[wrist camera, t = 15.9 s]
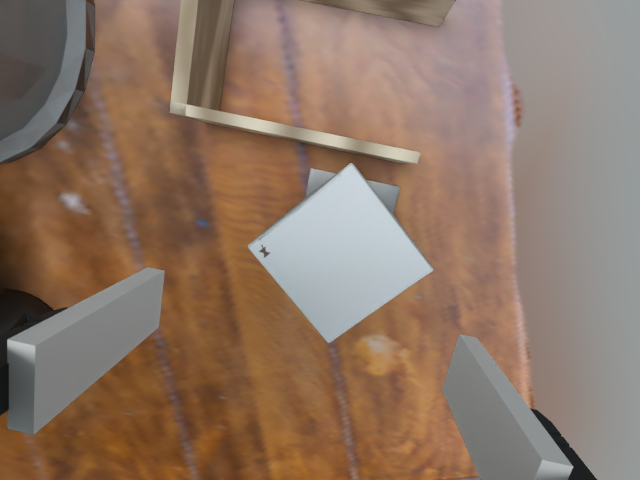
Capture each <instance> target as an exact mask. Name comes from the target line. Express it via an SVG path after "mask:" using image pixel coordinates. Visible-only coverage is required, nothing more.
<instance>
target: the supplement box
mask: <svg viewBox="0 0 640 480" xmlns="http://www.w3.org/2000/svg"><path fill="white" fill-rule="evenodd" d="M248 248H249V249H250V250H251V252H252V253H253V254H254V255H255V257H256V258H257V259H258V260H259V261H260V263H261V264H262V265H263V266H264V267H265V269H266V270H267V271H268V272H269V273H270V275H271V276H272V277H273V278H274V279H275V281H276V282H277V283H278V284H279V285H280V287H281V288H282V289H283V290H284V291H285V292H286V294H287V295H288V296H289V297H290V298H291V300H292V301H293V302H294V303H295V304H296V306H297V307H298V308H299V309H300V310H301V312H302V313H303V314H304V315H305V316H306V318H307V319H308V320H309V321H310V322H311V324H312V325H313V326H314V327H315V328H316V330H317V331H318V332H319V333H320V334H321V335H322V337H323V338H324V339H325V340H326V341H327V343H330V342H332V341H333V340H334V339H336V338H337V337H339V336H340V335H341V334H343V333H344V332H346V331H347V330H349V329H350V328H351V327H353V326H354V325H356V324H357V323H359V322H360V321H361V320H363V319H364V318H366V317H367V316H368V315H370V314H371V313H373V312H374V311H376V310H377V309H378V308H380V307H381V306H383V305H384V304H385V303H387V302H388V301H390V300H391V299H393V298H394V297H396V296H397V295H399V294H400V293H401V292H403V291H404V290H406V289H407V288H409V287H410V286H411V285H413V284H414V283H416V282H417V281H419V280H420V279H421V278H423V277H424V276H426V275H427V274H429V273H430V272H432V271H433V268H432V267H431V265H430V264H429V262H428V261H427V260H426V258H425V257H424V255H423V254H422V253H421V251H420V250H419V248H418V247H417V246H416V244H415V243H414V242H413V240H412V239H411V237H410V236H409V235H408V233H407V232H406V231H405V229H404V228H403V227H402V225H401V224H400V223H399V221H398V220H397V218H396V217H395V216H394V215H393V213H392V212H391V211H390V209H389V208H388V207H387V205H386V204H385V203H384V202H383V201H382V199H381V198H380V197H379V196H378V194H377V193H376V192H375V190H374V189H373V188H372V187H371V185H370V184H369V183H368V182H367V180H366V179H365V178H364V177H363V175H362V174H361V173H360V172H359V170H358V169H357V168H356V167H355V165H354V164H353V163H350V164H348V165H347V166H346V167H344V168H343V169H342V170H341V171H339V172H338V173H337V174H335V175H334V176H333V177H332V178H330V179H329V180H328V181H326V182H325V183H324V184H323V185H321V186H320V187H319V188H317V189H316V190H315V191H314V192H312V193H311V194H310V195H309V196H307V197H306V198H305V199H304V200H302V201H301V202H300V203H299V204H297V205H296V206H295V207H294V208H292V209H291V210H290V211H289V212H287V213H286V214H285V215H284V216H283V217H281V218H280V219H279V220H278V221H276V222H275V223H274V224H273V225H271V226H270V227H269V228H268V229H267V230H265V231H264V232H263V233H262V234H261V235H260V236H258V237H257V238H256V239H255V240H254V241H253V242H251V243H250V244H249V245H248Z"/></svg>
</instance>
